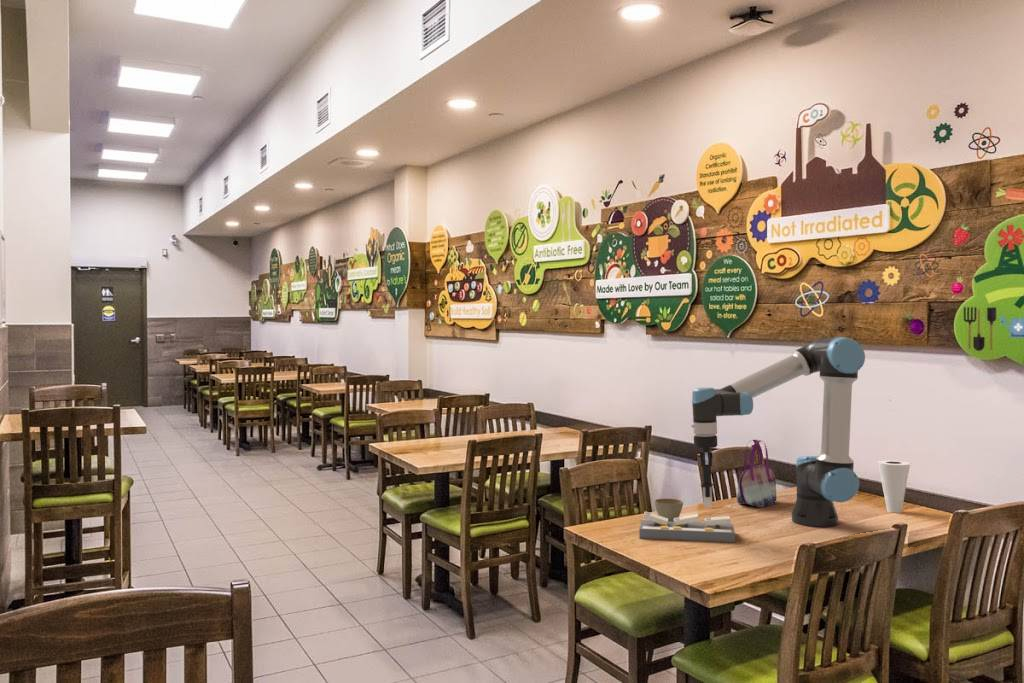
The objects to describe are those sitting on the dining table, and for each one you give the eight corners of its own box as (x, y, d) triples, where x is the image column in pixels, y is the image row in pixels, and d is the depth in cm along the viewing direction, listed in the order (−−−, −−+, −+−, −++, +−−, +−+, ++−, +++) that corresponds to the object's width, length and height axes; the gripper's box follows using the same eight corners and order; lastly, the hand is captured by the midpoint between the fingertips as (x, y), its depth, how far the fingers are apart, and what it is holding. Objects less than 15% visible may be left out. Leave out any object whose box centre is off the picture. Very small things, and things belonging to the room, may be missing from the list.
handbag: (750, 510, 281) (749, 443, 281) (728, 505, 289) (727, 441, 289) (784, 502, 293) (783, 438, 293) (763, 498, 301) (762, 436, 301)
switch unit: (732, 532, 249) (732, 521, 249) (735, 542, 237) (734, 530, 237) (641, 529, 256) (641, 518, 256) (639, 538, 244) (639, 526, 244)
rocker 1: (666, 523, 251) (668, 518, 251) (666, 526, 247) (668, 521, 247) (643, 515, 252) (644, 510, 252) (642, 518, 249) (644, 513, 248)
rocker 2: (698, 518, 248) (697, 513, 249) (699, 521, 245) (697, 515, 245) (674, 522, 250) (673, 517, 250) (674, 525, 246) (673, 520, 246)
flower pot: (683, 525, 260) (683, 504, 260) (654, 524, 262) (654, 503, 262) (682, 518, 270) (682, 498, 270) (654, 517, 272) (654, 497, 272)
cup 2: (916, 511, 274) (915, 463, 274) (901, 516, 268) (900, 466, 268) (888, 506, 283) (887, 459, 283) (872, 510, 277) (871, 462, 277)
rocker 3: (730, 520, 246) (729, 515, 246) (730, 523, 242) (730, 518, 242) (705, 522, 248) (704, 517, 248) (705, 525, 244) (704, 520, 244)
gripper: (693, 432, 253) (695, 501, 253) (693, 437, 240) (696, 510, 240) (716, 432, 251) (718, 502, 252) (718, 437, 239) (720, 511, 239)
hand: (707, 506), depth 246 cm, fingers closed
